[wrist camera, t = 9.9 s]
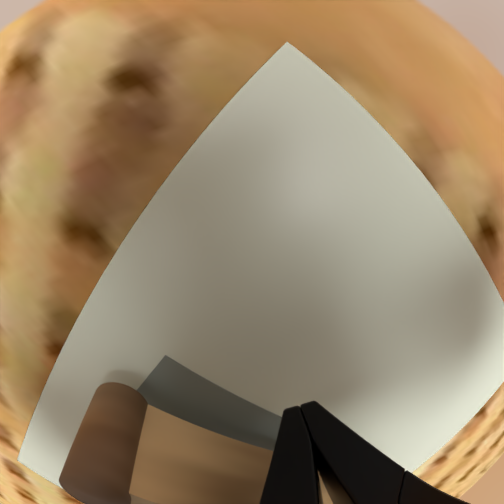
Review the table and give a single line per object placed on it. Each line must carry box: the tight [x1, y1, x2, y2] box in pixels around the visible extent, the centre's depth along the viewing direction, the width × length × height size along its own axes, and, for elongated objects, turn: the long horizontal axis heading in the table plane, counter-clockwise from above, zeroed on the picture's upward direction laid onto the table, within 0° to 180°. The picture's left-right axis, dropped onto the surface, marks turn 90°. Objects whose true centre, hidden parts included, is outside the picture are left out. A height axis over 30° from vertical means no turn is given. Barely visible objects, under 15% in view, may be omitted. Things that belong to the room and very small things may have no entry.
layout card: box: [17, 42, 504, 489], centre depth 9 cm, size 20×17×1 cm
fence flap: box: [59, 382, 333, 504], centre depth 6 cm, size 9×2×3 cm, turn 56°
